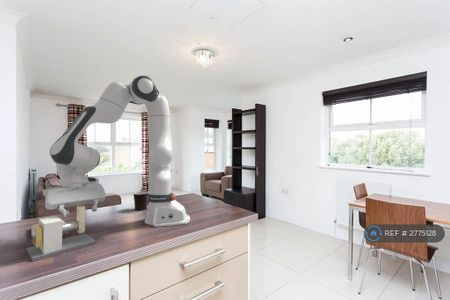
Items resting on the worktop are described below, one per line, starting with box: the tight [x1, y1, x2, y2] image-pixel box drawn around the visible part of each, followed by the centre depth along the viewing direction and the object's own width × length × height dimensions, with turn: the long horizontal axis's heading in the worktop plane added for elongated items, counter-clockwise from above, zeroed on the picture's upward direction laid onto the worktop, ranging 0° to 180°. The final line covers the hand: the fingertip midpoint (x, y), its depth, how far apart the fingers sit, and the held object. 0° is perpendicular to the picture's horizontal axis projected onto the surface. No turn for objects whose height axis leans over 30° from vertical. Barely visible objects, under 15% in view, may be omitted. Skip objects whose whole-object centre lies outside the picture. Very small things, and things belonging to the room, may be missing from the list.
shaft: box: [31, 204, 86, 240], centre depth 80 cm, size 15×3×10 cm, turn 139°
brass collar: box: [31, 223, 42, 248], centre depth 75 cm, size 2×6×6 cm, turn 50°
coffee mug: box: [133, 191, 149, 212], centre depth 131 cm, size 12×9×10 cm
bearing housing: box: [26, 215, 97, 262], centre depth 81 cm, size 18×11×11 cm, turn 139°
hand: (81, 213), depth 85 cm, fingers open, 8 cm apart
